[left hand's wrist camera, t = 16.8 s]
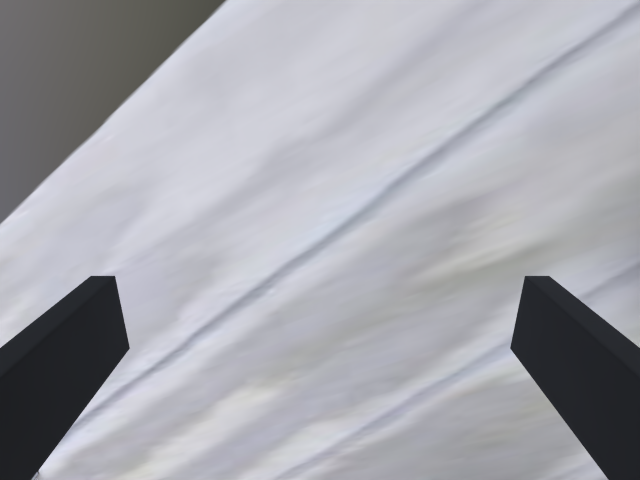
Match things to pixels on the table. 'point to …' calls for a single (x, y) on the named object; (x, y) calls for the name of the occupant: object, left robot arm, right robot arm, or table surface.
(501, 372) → the table surface
